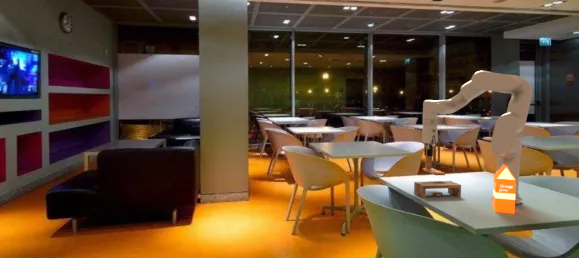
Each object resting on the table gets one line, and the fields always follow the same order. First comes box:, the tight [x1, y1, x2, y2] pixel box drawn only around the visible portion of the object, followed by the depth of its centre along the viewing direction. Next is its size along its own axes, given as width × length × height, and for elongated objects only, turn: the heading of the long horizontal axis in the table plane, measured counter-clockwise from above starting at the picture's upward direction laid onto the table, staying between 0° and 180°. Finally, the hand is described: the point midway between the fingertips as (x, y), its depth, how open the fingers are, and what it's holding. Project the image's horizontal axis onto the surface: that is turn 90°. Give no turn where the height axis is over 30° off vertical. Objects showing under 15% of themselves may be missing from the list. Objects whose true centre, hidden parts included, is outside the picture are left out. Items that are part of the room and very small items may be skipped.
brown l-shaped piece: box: [422, 145, 446, 176], centre depth 217 cm, size 15×5×14 cm, turn 8°
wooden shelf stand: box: [413, 180, 462, 199], centre depth 206 cm, size 10×20×6 cm, turn 98°
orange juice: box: [491, 164, 516, 215], centre depth 178 cm, size 8×9×20 cm
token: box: [431, 191, 443, 197], centre depth 206 cm, size 5×5×2 cm
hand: (428, 155), depth 223 cm, fingers closed on brown l-shaped piece
